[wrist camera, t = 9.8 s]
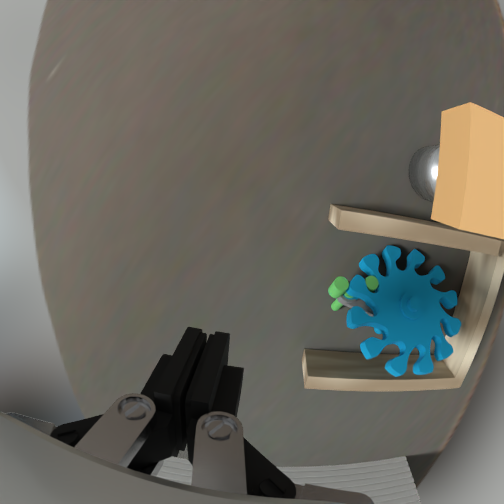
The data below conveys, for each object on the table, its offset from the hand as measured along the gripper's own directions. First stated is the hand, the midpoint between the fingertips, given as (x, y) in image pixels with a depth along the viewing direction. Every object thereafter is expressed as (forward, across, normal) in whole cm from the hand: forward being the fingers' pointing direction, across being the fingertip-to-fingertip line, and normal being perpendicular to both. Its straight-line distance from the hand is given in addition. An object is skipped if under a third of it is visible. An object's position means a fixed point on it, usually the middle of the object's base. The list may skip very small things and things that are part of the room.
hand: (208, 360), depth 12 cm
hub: (+6, -14, -9) cm, 18 cm away
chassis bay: (+12, -13, +2) cm, 18 cm away
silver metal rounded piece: (+13, -14, -9) cm, 21 cm away
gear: (+13, -12, +1) cm, 17 cm away
